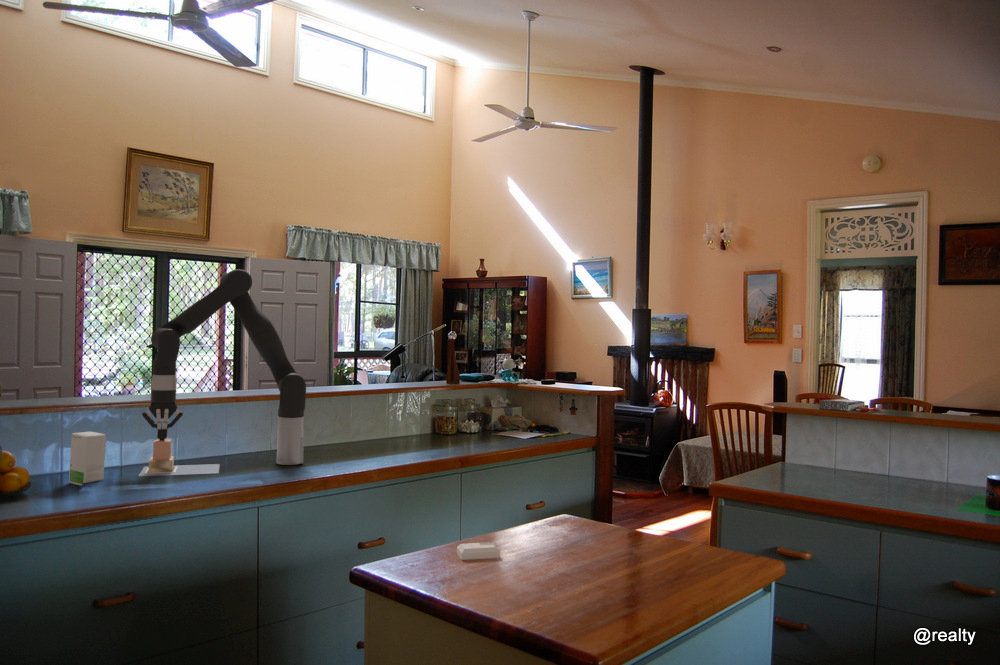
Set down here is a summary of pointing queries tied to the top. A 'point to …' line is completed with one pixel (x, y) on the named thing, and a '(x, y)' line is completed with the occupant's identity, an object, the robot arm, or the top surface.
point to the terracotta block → (162, 449)
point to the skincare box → (87, 457)
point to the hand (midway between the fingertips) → (162, 440)
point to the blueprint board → (185, 470)
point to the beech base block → (161, 465)
